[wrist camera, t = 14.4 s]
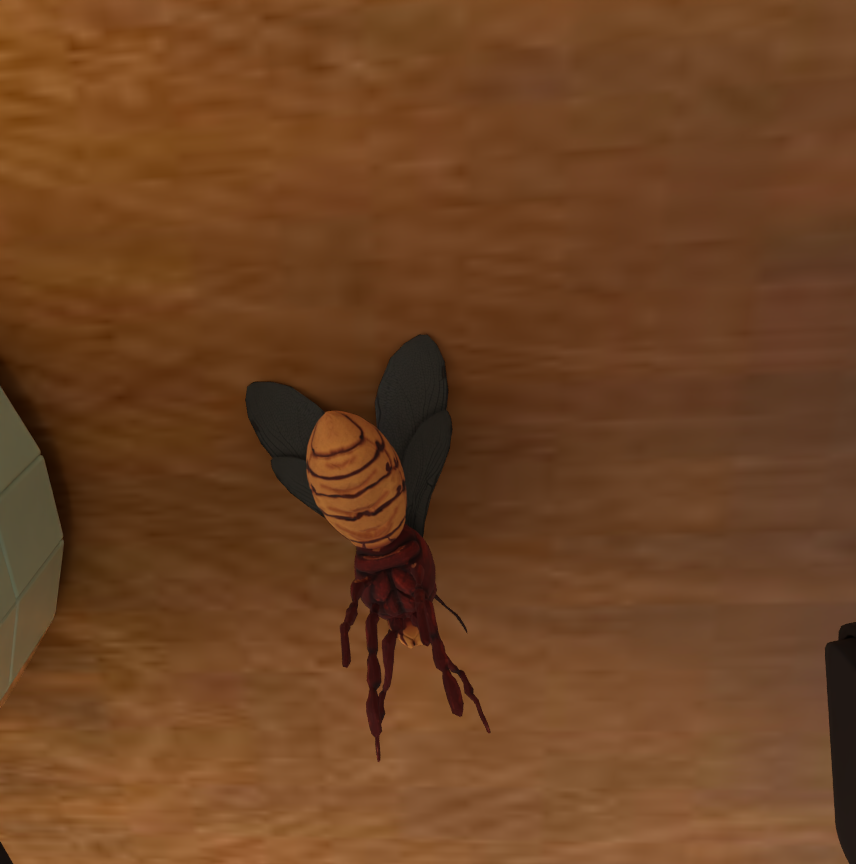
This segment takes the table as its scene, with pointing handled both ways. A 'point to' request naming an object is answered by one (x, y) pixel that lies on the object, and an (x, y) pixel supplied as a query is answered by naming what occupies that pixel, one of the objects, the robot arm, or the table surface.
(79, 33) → the table surface
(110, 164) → the table surface
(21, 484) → the bowl
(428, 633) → the insect
